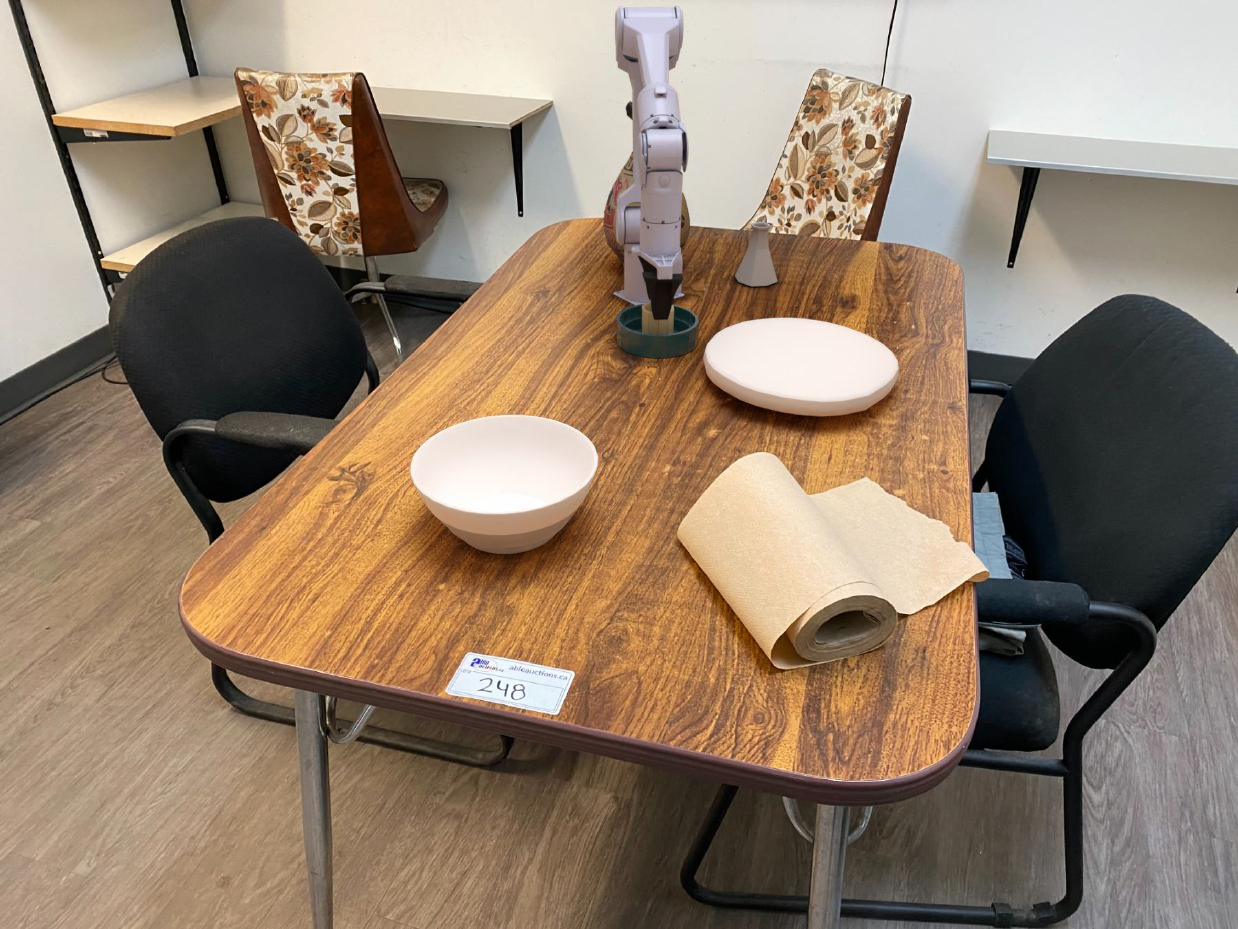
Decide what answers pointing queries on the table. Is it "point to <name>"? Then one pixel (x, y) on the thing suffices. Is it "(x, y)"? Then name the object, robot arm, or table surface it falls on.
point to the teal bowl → (657, 344)
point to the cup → (656, 321)
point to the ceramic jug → (619, 187)
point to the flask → (757, 259)
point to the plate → (801, 366)
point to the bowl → (505, 479)
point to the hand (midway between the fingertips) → (657, 308)
